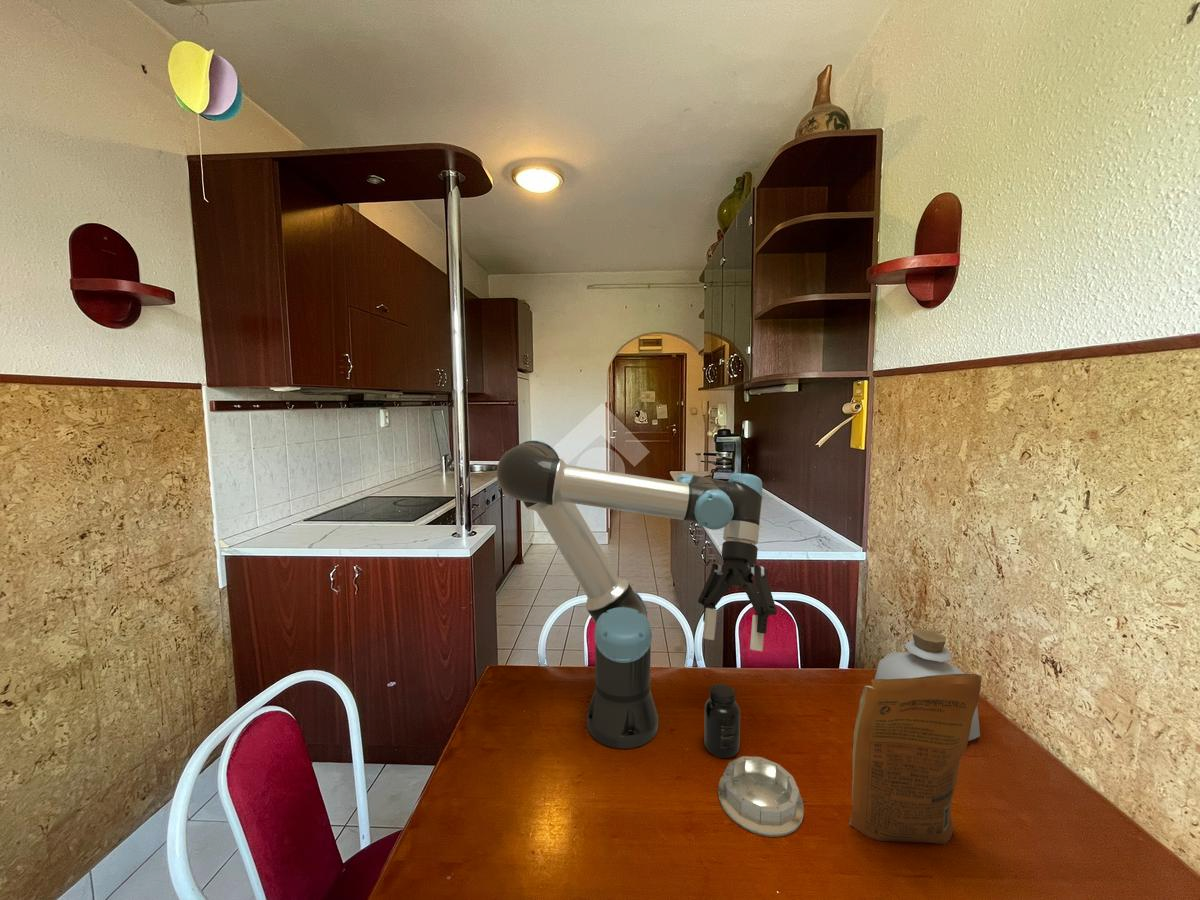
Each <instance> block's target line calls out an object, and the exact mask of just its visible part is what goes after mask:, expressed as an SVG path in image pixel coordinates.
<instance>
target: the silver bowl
mask: <svg viewBox="0 0 1200 900" xmlns="http://www.w3.org/2000/svg"><path fill="white" fill-rule="evenodd" d="M717 790H718V793H717V794H718V800H719V803H720V806H721V807H722V809H723V811H724V812H725V814H726V815H727V817H729V819H731V820H732V821H733V822H734V823H735V824H737V825H738V826H740V827H741V828H742V829H745V830H746V831H749V833H753V834H756V835H759V836H764V837H771V838H780V837H784V836H788V835H790V834H792V833H794V832H796V831H797V830H798V829H799V827H801V825H802V822H803V819H804V813H805V812H804V809H805V807H804V801H803V798H802V796H801V794H800V789H799V787H798V785H797V782H796V781H795V778H794V777H793V775H792V774H791V773H790V772H788V770H786V769H785V768H784V767H783V766H781V764H779V763H776V762H774V761H771V760H769V759H767V758H765V757H761V756H747V755H746V756H745V755H743V756H739V757H737V758H736V759H733V760H731V761H729V762H728V765H727V766H726V768H725V770H724V772H723V774H722V775H721V777H720V778H719V782H718V789H717Z"/></svg>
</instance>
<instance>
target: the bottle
mask: <svg viewBox="0 0 1200 900" xmlns="http://www.w3.org/2000/svg"><path fill="white" fill-rule="evenodd" d="M946 642H947V636H946V635H944V634H942V633H940V632H938V631H936V630H934V629H928V628H927V629H926V628H925V629H924V628H913V631H912V639H911V640H909V641H908V642H907V643H905V644H904V647H905V648H906V649H907V652H906V651H905V652H901V651H900V652H897V651H896V652H889V653H887V655H885V656H884V657H883V658H881V659H880V660H879V662H878V666H877V669H876V673H875V676H874V679H900V678H917V677H925V676H933V675H945V674H967V673H966V672H964V671H963V670H961V669H959V668H958V667H957V666H955V665H953V664H952V663H950V662H949V661H951V660H952V659H953V658H952V653H951V652H950V650H949V649H948V648H947V647H945V645H946ZM978 708H979V707H978V706H977V707H976V710H975V712H974V715H973V719H972V724H971V729H970V734H969V740H968V742H971V741H973V740H975V739H977V738H979V737H981V731H980V722H979V721H980V720H979V711H978Z"/></svg>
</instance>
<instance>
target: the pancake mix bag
mask: <svg viewBox="0 0 1200 900" xmlns="http://www.w3.org/2000/svg"><path fill="white" fill-rule="evenodd" d="M982 676H983V675H980V674H978V673H966V674H945V675H933V676H925V677H917V678H900V679H875V678H873V679H871V685H864V686H863V689H862V692H861V695H860V699H859V705H858V706H859V707H858V712H857V715H856V719H855V725H854V728H853V729H854V731H853V746H852V766H851V767H852V783H851V804H852V805H851V806H852V811H851V814H850V817H849V818H850V819H849V823H848V825H849V826H851V827H852V828H854V829H855V830H857V831H858V832H860V833H861V834H863V835H864V836H866V837H867V838H869V839H870V838H871V839H873V840H876V841H879V842H897V843H898V842H902V843H927V844H937V845H946V844H947V843H948V842H950V840H951V839H952V835H953V831H954V824H953V823H954V822H953V817H952V809H951V808H952V804H953V803H952V800H953V797H954V796H953V795H954V793H955V789H956V786H957V784H958V777H959V769H960V761H961V758H962V756H963V755H964V752H965V750H966V748H967V746H968V743H969V741H968V740H969V734H970V729H971V724H972V719H973V715H974V712H975V710H976V707H977V708H978V703H979V699H980V693H981V689H982V679H983V677H982Z"/></svg>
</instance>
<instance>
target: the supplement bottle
mask: <svg viewBox="0 0 1200 900" xmlns="http://www.w3.org/2000/svg"><path fill="white" fill-rule="evenodd" d="M740 728H741V709H740V706H739V705H738V703H737V702H736V692H735V689H734V688H733V687H731V685H728V684H724V683H716V684H713V685H711V687H710V690H709V697H708V699H707V700H706V701H705V703H704V732H703V733H704V734H703V735H704V738H703V740H704V741H703V742H704V747H705V748H706V750H707V751H708V752H709V754H711V755H713V756H714V757H717V758H721V759H729V758H733V757H734V756H736V755H737V754H738V753H739V751H740V736H741V733H740V731H741V729H740Z"/></svg>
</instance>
